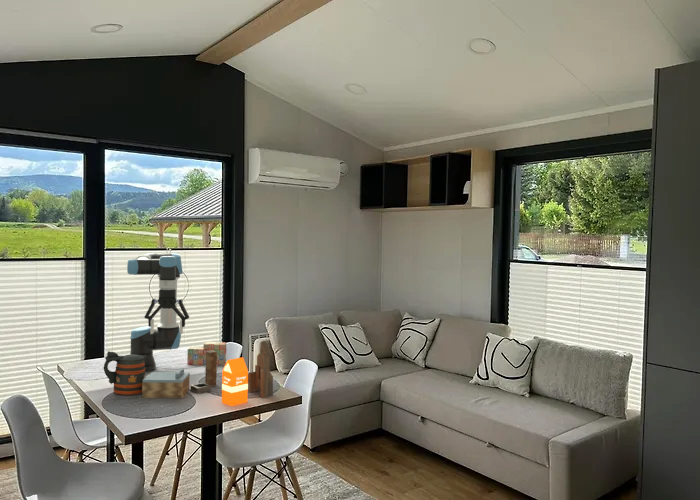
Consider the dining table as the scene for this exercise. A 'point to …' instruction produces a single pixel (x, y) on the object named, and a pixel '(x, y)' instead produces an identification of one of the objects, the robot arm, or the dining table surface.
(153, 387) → the toolbox
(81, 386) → the dining table surface
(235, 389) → the orange juice
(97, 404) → the dining table surface
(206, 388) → the socket
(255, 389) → the wooden toy
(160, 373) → the lid
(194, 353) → the stack of blocks
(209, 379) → the pin
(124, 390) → the beer stein
